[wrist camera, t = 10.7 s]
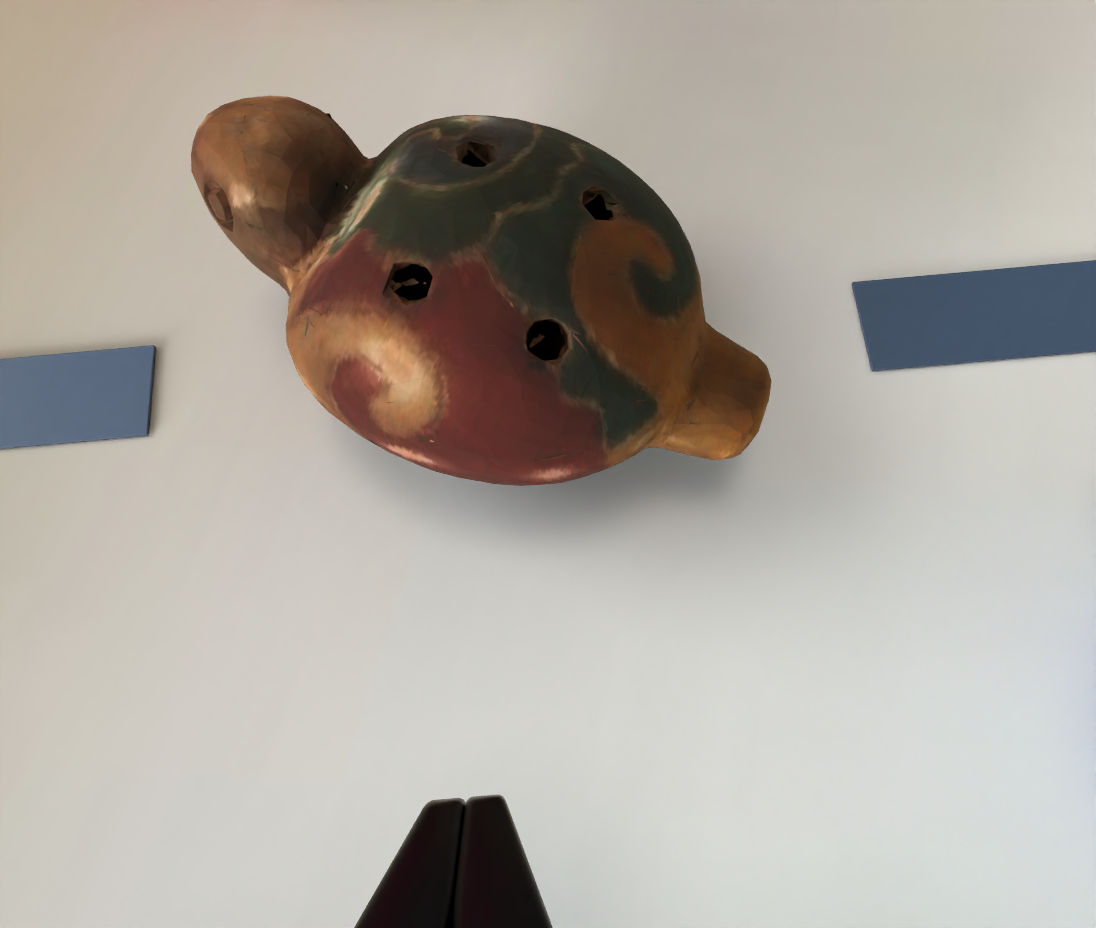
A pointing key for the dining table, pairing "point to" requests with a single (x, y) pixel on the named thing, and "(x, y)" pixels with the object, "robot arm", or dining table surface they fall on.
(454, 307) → the decorative turtle
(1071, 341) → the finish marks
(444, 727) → the dining table surface
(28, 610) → the dining table surface
